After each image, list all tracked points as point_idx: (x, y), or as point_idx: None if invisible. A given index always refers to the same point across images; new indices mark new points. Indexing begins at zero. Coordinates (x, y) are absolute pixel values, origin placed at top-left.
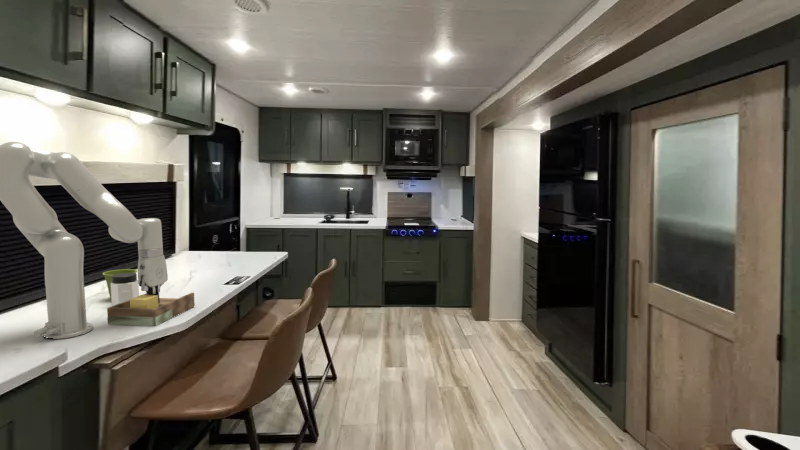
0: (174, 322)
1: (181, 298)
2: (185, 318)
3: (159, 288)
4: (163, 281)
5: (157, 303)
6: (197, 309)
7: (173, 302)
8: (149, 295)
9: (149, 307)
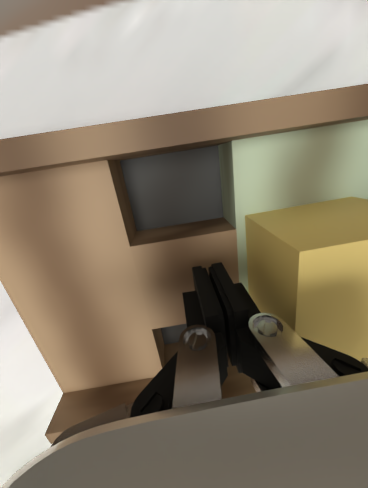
0: (295, 36)
1: (94, 125)
2: (210, 20)
3: (187, 360)
4: (171, 443)
5: (271, 225)
6: (18, 94)
7: (226, 107)
8: (308, 316)
9: (360, 208)
